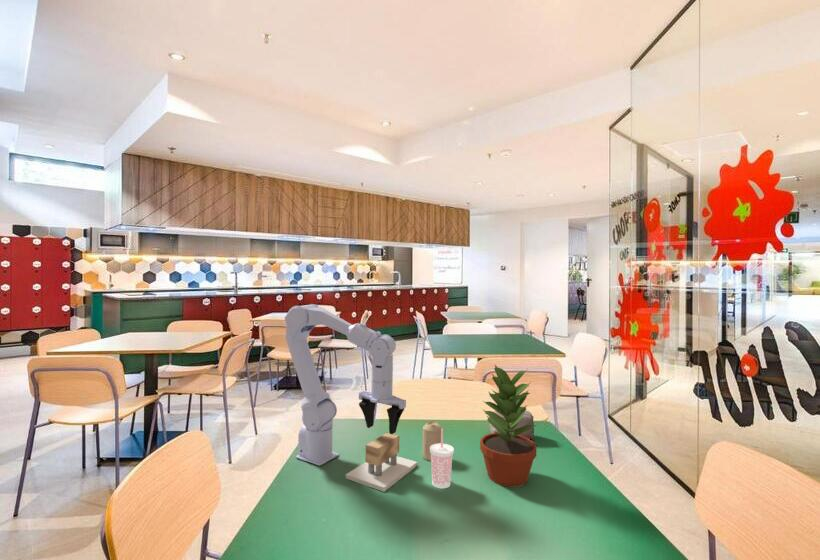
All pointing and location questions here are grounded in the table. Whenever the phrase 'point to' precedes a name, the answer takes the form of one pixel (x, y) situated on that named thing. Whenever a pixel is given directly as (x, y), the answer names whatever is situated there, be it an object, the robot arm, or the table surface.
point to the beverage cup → (441, 463)
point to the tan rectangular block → (382, 449)
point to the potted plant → (508, 434)
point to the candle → (430, 437)
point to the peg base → (382, 472)
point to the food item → (520, 424)
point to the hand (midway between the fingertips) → (381, 429)
